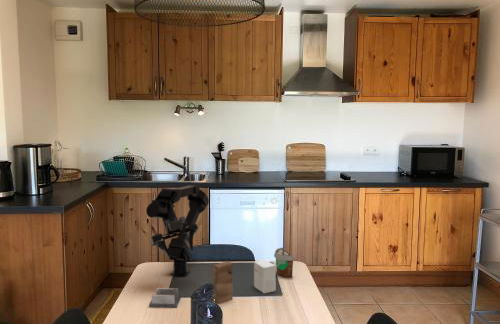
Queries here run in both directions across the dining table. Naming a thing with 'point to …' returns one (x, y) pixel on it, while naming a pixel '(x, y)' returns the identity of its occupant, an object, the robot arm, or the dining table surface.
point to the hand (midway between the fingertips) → (181, 254)
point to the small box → (265, 276)
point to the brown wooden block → (223, 281)
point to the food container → (284, 263)
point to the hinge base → (165, 298)
